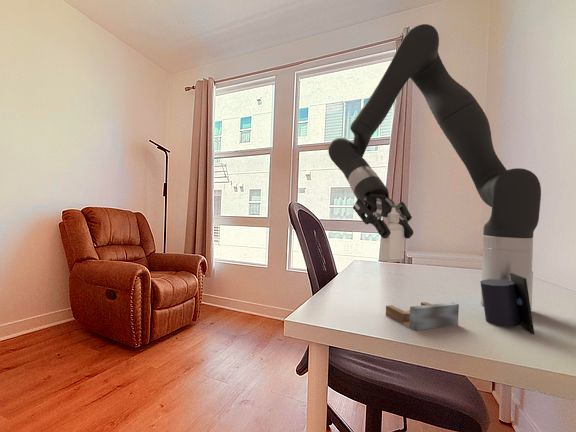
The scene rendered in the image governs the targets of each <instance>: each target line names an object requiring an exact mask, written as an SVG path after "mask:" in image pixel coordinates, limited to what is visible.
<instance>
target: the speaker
mask: <svg viewBox="0 0 576 432" xmlns="http://www.w3.org/2000/svg"><path fill="white" fill-rule="evenodd" d="M510 277H511V281H509V280H502V279H487V280H482V279H481V280H480V282H479V283H480V289H481V290H482V297H483V304H484V305H483V310H484V316H485V322H486V323H488V324H490V325H493V326H494V325H495V326H498V327H505V328H515V327H519V326H520V327H521V328H522V329H524V330H525V331H526V332H528V333H529V334H531V335H533V336H534V335H535V329H534V327H535V326H534V321H533V316H532V315H533V314H532V310H531V307H530V301H529V294H528V287H527V281H526V278H524V277H521V276H518V275H516V274H513V273H510ZM481 290H480V291H481Z"/></svg>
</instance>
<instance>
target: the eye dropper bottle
mask: <svg viewBox="0 0 576 432" xmlns="http://www.w3.org/2000/svg"><path fill="white" fill-rule="evenodd" d="M399 221H400V219H399V214H398V213H397V212H396V209H395V208H392V210H391V212H390V213H388V219H387V223H385V224H386V225H387V227H388V228H389V230H390V235H389V236H388V237H387V238H382V236H381V237H380V238H381V239H380V240H381V241H380V242H381V246H380V260H381V261H382V262H387V263H400V262H402V261H404V259H405V237H404V228H403V226H402V225H400V224H399V223H398V222H399Z"/></svg>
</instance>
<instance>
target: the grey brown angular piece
mask: <svg viewBox="0 0 576 432" xmlns="http://www.w3.org/2000/svg"><path fill="white" fill-rule="evenodd" d="M459 306H460V304H459V303H457V302H443V303H434V304H433V303H429V302H427V301H425V302H424V301H423V302H420V305H415V306H410V307H409V310H403V309H401V308H399V307H396V306H395V305H393V304H391V305H386V306H385V316H386V317H388V318H390V319H392V320H394V321H395V322H398V323H400V324H401V325H403V326H405V327H406V328H409V329H411V330H412V331H421V330H429V329H430V330H431V329H435V328H443V327H444V328H445V327H450V326H458V325H459V312H460V311H459V309H460V307H459Z"/></svg>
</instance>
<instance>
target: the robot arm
mask: <svg viewBox="0 0 576 432" xmlns="http://www.w3.org/2000/svg"><path fill="white" fill-rule="evenodd" d="M439 46H440V37H439V32H438V30H437V28H436V27H434V26H433V25H431V24H426V23H424V24H418V25H417V26H414V27H413V28H411V29H410V30H409V31H407V32H406V34H405V35H404V37H403V38H402V40H401V41H400V44H399V46H398V47H397V50H396V51H395V53H394V55H393V57H392V59H391V61H390V63H389V65H388V66H387V68H386V70H385V72H384V74H383V76H382V77H381V79H380V81H379V82H378V84H377V86H376V87H375V88H374V90H373V91H372V93H371V95H370V96H369V97H368V99H367V101H366V102H365V103H364V105H362V106H363V107H362V108H361V109H360V110H359V112H357V115H356V116H355V118H354V119H353V121H352V122H351V124H350V126H349V129H350V131H351V132H352V134H353V139H352V142H351V140H349V139H347V138H346V137H342V136H338V137H335V138H334V139H333V140H332V141H331V142H330V143H329V145H328V156H329V157H330V159H331V161H332V162H333V164H334V165H335V166H336V167H337V168H338V169H339V170H340V172H342V173H343V176H344V177H345V180H347V182H348V184H349V187H350V189H351V191H352V193H353V194H354V196H355V198H356V200H355V203H354V205H353V206H352V208H353V210H354V211H355V213H356V214H357V215H358V217H360V218H359V219H360V220H361V221H362V222H363V224H365V225H369V224H371V226H372V227H375V229H376V231H377V233H378V234H379V235H380V236H381V237H382V238H387V237H388V236H389V235H390V230H389V228H388V227H387V225H386V224H387V223H386V222H385V220H384V219H382V218H383V217H384V218H386V219H387V220H388V213H390V212H391V210H392V208H395V209H396V212H397V213H398V214H399V222H398V223H399V224H400V225H402V226H403V228H404V239H410V238H412V237H413V235H414V230H413V229H412V227H411V226H410V225H409V222H410V221H411V220H412V219H413V217H412V215H411V213H410V211H409V209H408V208H407V205H406V204H405V203H404V202H403V201H399V203H397V202H395V201H393V199H391V198H390V195H389V193H390V192H389V189H388V188H387V186H386V185H385V183H384V182H383V180H381V178H380V176H379V175H378V174H377V173H376V171H374V170H373V168H372V167H371V166H370V164H369V163H368V162H367V161H366V160H365V158H363V157H364V155H365V152H366V149H367V148H368V146H369V143H370V140H371V138H372V136H373V135H374V133H376V131H377V130H378V128H379V127H380V126H381V124H382V123H383V121H384V120H385V119H386V117H387V115H388V114H389V112H390V111H391V109H392V107H393V106H394V105H393V104H394V103H395V100H396V99H397V97H398V95H399V94H400V92H401V91H402V89H403V88H404V86H405V85H406V83H407V82H408V81H409V79H411V81H412V82H413V83H414V84H415V86H416V87H417V88H418V89H419V91H420V92H421V94H422V95H423V97H424V99H425V101H426V104H427V105H428V107H429V109H430V112H431V114H432V115H433V116H434V119H435V121H436V123H437V124H438V126H439V127H440V129H441V130H442V133H444V135H445V137H446V139H447V140H448V141H449V144H451V146H452V149H454V151H455V153H456V154H457V155H458V157H459V158H460V160H461V161H462V162H463V163H462V164H463V165H464V166H465V168H466V169H467V170H466V171H468V173H469V176H470V178H471V179H472V182H473V184H474V186H475V189H476V191H477V193H478V195H479V197H480V199H481V200H482V201H483V202H484V204H486V205H487V206H488V207H490V208H491V212H490V213H491V214H490V218H489V219H488V221H487V222H486V223H485V224H484V226H483V235H482V236H483V237H482V263H481V281H482V280H487V279H502V280H509V281H511V277H510V273H513V274H516V275H518V276H521V277H524V278H526V281H527V287H528V294H529V301H530V307H531V311H532V310H533V309H532V308H533V307H532V306H533V282H534V271H533V259H534V258H533V253H534V252H533V249H534V232H535V230H536V228H537V227H538V224H539V218H540V210H541V200H542V199H541V198H542V186H541V183H540V180H539V178H538V176H537V175H536V174H535V173H534V172H532V171H530V170H528V169H525V168H518V167H516V168H515V167H514V168H511V169H507V168H506V167H505V166H504V164H503V162H502V161H501V160H500V158H499V157H498V155H497V153H496V150H495V148H494V144H493V138H492V131H491V125H490V123H489V119H488V117H487V115H486V113H485V111H484V109H483V108H482V107H481V105H480V103H479V102H478V100H477V99H476V98H475V97H474V95H473V94H472V93H471V92H470V91H469V90H468V89H467V88H465V87H464V86H463V85H461V84H460V83H459V82H457V81H456V80H455V79H454V78H453V77H452V75H450V73H449V72H448V70H447V68H446V67H445V65H444V63H443V60H442V59H441V57H440V54H439ZM480 291H481V292H480V293H481V294H480V304H481V305H482V306H484V304H483V297H482V290H480Z"/></svg>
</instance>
